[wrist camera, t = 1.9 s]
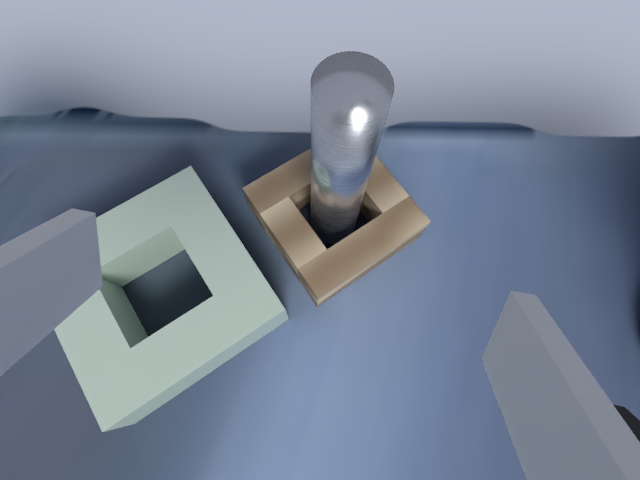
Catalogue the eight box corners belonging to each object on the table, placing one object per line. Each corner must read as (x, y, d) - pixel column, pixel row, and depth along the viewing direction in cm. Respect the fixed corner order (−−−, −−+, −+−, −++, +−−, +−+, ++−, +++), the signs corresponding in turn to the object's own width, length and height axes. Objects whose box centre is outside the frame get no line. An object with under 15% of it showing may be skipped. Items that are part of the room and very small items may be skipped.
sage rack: (289, 318, 33) (285, 309, 28) (134, 423, 30) (102, 432, 25) (206, 192, 37) (190, 165, 32) (61, 275, 34) (21, 259, 29)
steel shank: (363, 228, 36) (410, 93, 19) (327, 251, 35) (342, 134, 18) (338, 195, 37) (361, 39, 20) (302, 217, 36) (294, 74, 19)
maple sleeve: (417, 238, 36) (430, 221, 32) (317, 306, 33) (317, 298, 30) (346, 149, 38) (350, 124, 35) (249, 207, 36) (242, 188, 32)
